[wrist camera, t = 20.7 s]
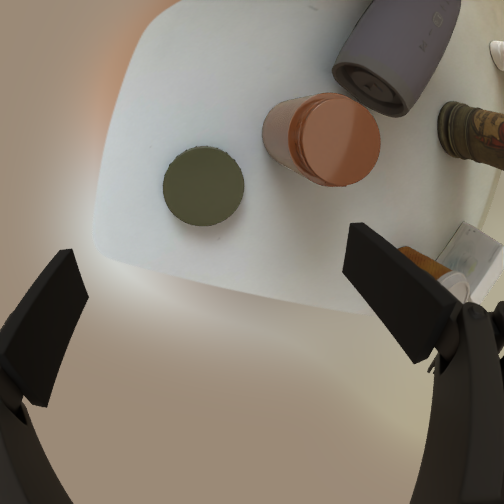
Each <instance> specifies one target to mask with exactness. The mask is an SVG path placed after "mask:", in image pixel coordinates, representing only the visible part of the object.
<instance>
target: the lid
mask: <svg viewBox="0 0 504 504" xmlns="http://www.w3.org/2000/svg"><path fill="white" fill-rule="evenodd" d="M164 176H165V177H164V181H163V194H164V199H165V202H166V204H167V206H168V208H169V209H170V211H171V212H172V213H173V214H174V215H175V216H176V217H177V218H179V219H180V220H181V221H183V222H185V223H188V224H190V225H195V226H211V225H214V224H217V223H220V222H222V221H224V220H225V219H227V218H228V217H230V216H231V215H232V214H233V213H234V212H235V210H236V209H237V208H238V206H239V204H240V202H241V200H242V197H243V193H244V179H243V175H242V172H241V169H240V168H239V166H238V165H237V163H236V162H235V160H234V159H232V158H231V157H230V156H229V155H228V153H227V152H226V153H225V152H224V151H222V150H220V149H218V148H214V147H208V146H200V147H197V146H196V147H195V148H191V149H189V150H185V152H183V153H181V154H180V155H179V156H177V157H176V159H175V160H174V161H173V162H172V164H170V165H169V168H168V170H167V172H166V174H165V175H164Z"/></svg>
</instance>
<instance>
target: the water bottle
mask: <svg viewBox="0 0 504 504" xmlns="http://www.w3.org/2000/svg"><path fill="white" fill-rule="evenodd" d="M490 47H491V48H490V51H491V55H492V56H493V57H492V58H493V60H494V63H495V64H496V66H497V67H498V69H500V70H501V71H504V41H492V42H491V43H490Z"/></svg>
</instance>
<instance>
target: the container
mask: <svg viewBox="0 0 504 504" xmlns="http://www.w3.org/2000/svg"><path fill="white" fill-rule="evenodd" d="M438 134H439V139H440V142H441V145H442V147H443V148H444V150H445V151H446V152H447V153H448V154H449V155H450V156H452V157H454V158H460V159H463V160H466V159H471V160H474V161H475V162H478V163H484V164H488V165H490V166H493V167H495V168H498V169H501V170H503V171H504V114H501V113H496V112H491V111H486V110H483V109H481V108H473V107H469V106H468V105H466V104H463V103H458V102H454V101H453V102H448V103H446V104H445V105H444V106H443V107H442V109H441V111H440V114H439V118H438Z"/></svg>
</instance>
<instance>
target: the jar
mask: <svg viewBox="0 0 504 504" xmlns="http://www.w3.org/2000/svg"><path fill="white" fill-rule="evenodd" d="M262 137H263V142H264V145H265V148H266V150H267V152H268V153H269V155H270V156H271V157H272V158H273V159H274V160H275V161H276V162H278V163H279V164H281V165H283V166H285V167H287V168H289V169H291V170H292V171H294V172H296V173H298V174H300V175H301V176H303V177H305V178H307V179H308V180H310V181H312V182H314V183H316V184H319V185H322V186H328V187H335V186H336V187H344V186H347V185H350V184H353V183H356V182H358V181H360V180H362V179H363V178H364V177H366V176H367V175H368V174H369V173H370V171H371V170H372V169H373V167H374V166H375V164H376V162H377V159H378V156H379V152H380V133H379V129H378V126H377V123H376V121H375V119H374V118H373V116H372V115H371V113H370V112H369V111H368V110H367V109H366V108H365V107H364V106H362V105H361V104H360V103H358V102H356V101H354V100H352V99H351V98H349V97H347V96H344V95H342V94H337V93H321V94H316V95H310V96H305V97H300V98H295V99H291V100H287V101H284V102H281V103H279V104H278V105H276V106H275V107H274V108H273V109H272V110H271V111H270V112H269V113H268V115H267V116H266V118H265V121H264V124H263V129H262Z"/></svg>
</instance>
